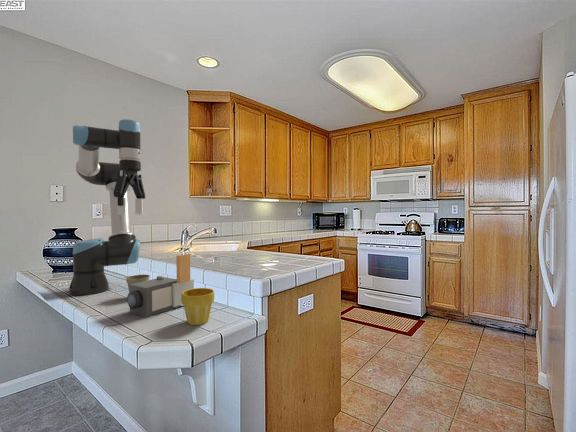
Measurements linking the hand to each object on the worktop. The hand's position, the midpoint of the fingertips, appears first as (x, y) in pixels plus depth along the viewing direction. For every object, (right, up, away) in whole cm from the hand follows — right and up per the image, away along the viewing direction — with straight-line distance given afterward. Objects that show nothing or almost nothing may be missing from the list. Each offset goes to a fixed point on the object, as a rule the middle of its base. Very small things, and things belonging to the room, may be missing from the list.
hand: (131, 214), depth 119 cm
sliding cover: (+23, -34, -5) cm, 41 cm away
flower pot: (-1, -35, +8) cm, 36 cm away
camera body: (+13, -35, -9) cm, 38 cm away
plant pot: (+33, -35, -21) cm, 52 cm away
